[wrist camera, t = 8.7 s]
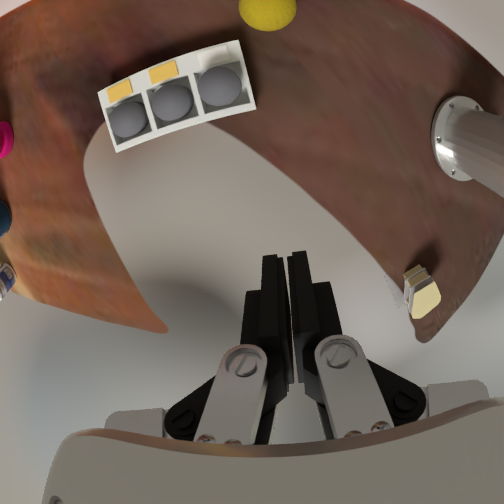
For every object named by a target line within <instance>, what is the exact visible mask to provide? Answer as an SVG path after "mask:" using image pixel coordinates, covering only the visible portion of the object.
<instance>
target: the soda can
mask: <svg viewBox="0 0 504 504" xmlns="http://www.w3.org/2000/svg"><path fill="white" fill-rule="evenodd" d="M11 222H12V217H11V213H10V210H9V208H8V206H7V205H6V203H4V202H3V201H0V238H1V237H3V236H4V235H5V234H6V233H7V232H8V231H9V229H10V226H11Z"/></svg>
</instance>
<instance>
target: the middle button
mask: <svg viewBox="0 0 504 504" xmlns="http://www.w3.org/2000/svg"><path fill="white" fill-rule="evenodd" d="M193 105H194V96H193V94H192V92H191V90H190V89H188V88H187V87H185V86H183V85H177V84H167V85H164V86H162V87H160V88H159V89H158V90H157V91H156V92H155V94H154V96H153V98H152V109H153V112H154V113H155V115H156V116H157V117H158V118H160V119H162V120H166V121H171V120H175V119H179V118H182V117H184V116H186V115H187V114H188V113H189V112H190V111H191V109H192V107H193Z"/></svg>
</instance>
